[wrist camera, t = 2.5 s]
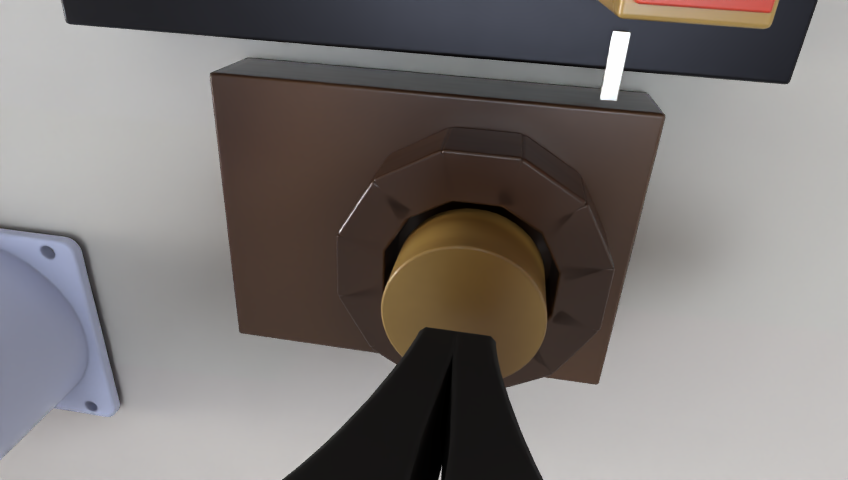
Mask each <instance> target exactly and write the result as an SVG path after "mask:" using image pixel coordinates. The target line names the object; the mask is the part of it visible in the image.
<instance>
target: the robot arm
mask: <svg viewBox="0 0 848 480" xmlns="http://www.w3.org/2000/svg"><path fill="white" fill-rule="evenodd" d="M50 247H51V248H52V249H53V250H54V252H55V253H54V252H53V251H52V250H51V249H50ZM53 408H57V409H63V410H69V411H75V412H81V413H87V414H93V415H99V416H105V417H111V416H113V415H114V414H115V413H116V412H117V411H118V410H119V408H120V402H119V398H118V394H117V390H116V386H115V382H114V378H113V374H112V370H111V366H110V362H109V358H108V354H107V350H106V346H105V342H104V338H103V334H102V330H101V326H100V322H99V318H98V314H97V310H96V306H95V302H94V298H93V294H92V290H91V286H90V282H89V278H88V274H87V270H86V266H85V262H84V258H83V254H82V251H81V248H80V246H79V245H78V244H77V243H76V242H75V241H74V240H72V239H71V238H68V237H63V236H56V235H48V234H40V233H32V232H25V231H17V230H9V229H2V228H0V460H1V459H2V458H3V457H4V456H5V455H6V454H7V453H8V452H9V451H10V450H11V449H12V448H13V447H14V446H15V445H16V444H17V443H18V442H19V441H20V440H21V439H22V438H23V437H24V436H25V435H26V434H27V433H28V432H29V431H30V430H31V429H32V428H33V427H34V426H35V425H36V424H37V423H38V422H39V421H41V420H42V419H43V418H44V417H45V416H46V415H47V414H48V413H49V412H50V411H51V410H52V409H53ZM441 467H442V475H441V480H543V479H542V476H541V474H540V472H539V470H538V468H537V466H536V464H535V462H534V460H533V457H532V455H531V453H530V451H529V449H528V446H527V444H526V442H525V439H524V437H523V435H522V432H521V430H520V427H519V425H518V422H517V419H516V417H515V414H514V411H513V408H512V406H511V403H510V400H509V397H508V394H507V391H506V388H505V385H504V381H503V377H502V374H501V370H500V366H499V361H498V356H497V349H496V341H495V340H494V339H493V338H492V337H491V336H488V335H480V334H473V333H466V332H459V331H452V330H444V329H437V328H430V327H425V328H423V329H422V330H420V331H419V332H418V334H417V336H416V338H415V339H414V341H413V342H412V344H411V346H410V347H409V349H408V350H407V351H406V353H405V354H404V356H403V357H402V358H401V360H400V361H399V362H398V364H397V365H396V366H395V368H394V369H393V370H392V372H391V373H390V374H389V375H388V376H387V378H386V379H385V380H384V381H383V382H382V384H381V385H380V386H379V387H378V388H377V390H376V391H375V392H374V393H373V394H372V395H371V397H370V398H369V399H368V400H367V401H366V402H365V403H364V404H363V405H362V406H361V407H360V408H359V410H358V411H357V412H356V413H355V414H354V415H353V416H352V417H351V418H350V419H349V420H348V421H347V422H346V423H345V424H344V425H343V426H342V427H341V428H340V429H339V430H338V431H337V432H336V433H335V434H334V435H333V436H332V437H331V438H330V439H329V440H328V441H327V442H326V443H325V444H324V445H323V446H321V447H320V448H319V449H318V450H317V451H316V452H315V453H314V454H313V455H311V456H310V457H309V458H308V459H307V460H306V461H305V462H303V463H302V464H301V465H300V466H299V467H298V468H296V469H295V470H294V471H293V472H291V473H290V474H289V475H288V476H286V477H285V478H284V479H282V480H438V479H439V475H440V471H441Z"/></svg>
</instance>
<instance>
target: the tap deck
mask: <svg viewBox="0 0 848 480" xmlns="http://www.w3.org/2000/svg"><path fill="white" fill-rule="evenodd" d="M817 1H818V0H779V3H778V6H777V9H776V12H775V16H774V19H773V22H772V24H771V26H770V27H769V28H766V29H754V28H741V27H728V26H714V25H701V24H687V23H674V22H660V21H647V20H633V19H622V18H620V17H618V16H617V15H615V14H614V13H613V12H612V11H611V10H609V9H608V8H607V7H606V6H604V5H603V4H602V3H601V2H599V1H598V0H61V2H62V6H63V11H64V16H65V20H66V22H67V23H68V24H74V25H86V26H97V27H109V28H121V29H133V30H145V31H157V32H169V33H181V34H193V35H205V36H216V37H228V38H240V39H252V40H264V41H276V42H288V43H300V44H312V45H324V46H335V47H347V48H359V49H371V50H383V51H395V52H407V53H419V54H431V55H442V56H454V57H466V58H478V59H490V60H502V61H514V62H526V63H538V64H550V65H561V66H573V67H585V68H597V69H604V74H603V79H602V85H601V90H600V95H599V99H600V100H605V101H617V98H618V93H619V89H620V84H621V79H622V74H623V71H633V72H645V73H657V74H669V75H680V76H692V77H704V78H716V79H728V80H740V81H752V82H764V83H776V84H788V83H789V82H790V80H791V77H792V74H793V71H794V68H795V65H796V62H797V59H798V57H799V54H800V51H801V48H802V45H803V42H804V39H805V36H806V33H807V30H808V27H809V24H810V21H811V18H812V16H813V13H814V10H815V7H816V4H817Z"/></svg>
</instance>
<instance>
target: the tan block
mask: <svg viewBox="0 0 848 480" xmlns="http://www.w3.org/2000/svg"><path fill="white" fill-rule="evenodd" d="M598 1H599V2H601V3H602V4H603V5H604V6H606V7H607V8H608V9H609V10H611V11H612V12H613V13H614V14H615V15H617V16H618V17H620V18H622V19H633V20H647V21H660V22H674V23H687V24H701V25H714V26H728V27H741V28H754V29H766V28H769V27H770V26H771V24H772V22H773V19H774V16H775V12H776V9H777V6H778V3H779V0H598Z"/></svg>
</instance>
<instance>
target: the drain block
mask: <svg viewBox="0 0 848 480" xmlns="http://www.w3.org/2000/svg"><path fill="white" fill-rule="evenodd" d="M210 82H211V90H212V99H213V108H214V116H215V125H216V134H217V142H218V151H219V160H220V168H221V177H222V186H223V194H224V203H225V212H226V220H227V229H228V238H229V246H230V255H231V264H232V272H233V281H234V290H235V298H236V307H237V316H238V324H239V332H240V333H243V334H250V335H257V336H264V337H271V338H278V339H285V340H292V341H298V342H305V343H312V344H319V345H326V346H333V347H340V348H347V349H354V350H361V351H368V352H374V353H379V354H381V355H382V356H384V357H386V358H387V359H389V360H391V361H392V362H394V363H395V364H398V362H399V361H400V360H401V358H402V356H401V355H400V354H399V353H398V352H397V351H396V349H395V348H394V347H393V345H392V344H391V342H390V340H389V338H388V336H387V334H386V332H385V329H384V326H383V322H382V317H381V302H382V296H383V292H384V289H385V287H386V284H387V282H388V279H389V277H390V274H391V272H392V270H393V267H394V265H395V262H396V260H397V257H398V255H399V253H400V250H401V248H402V246H403V243H404V242H405V240H406V238H407V237H408V235H409V234H410V233H411V232H412V231H413V230H414V229H415V228H416V227H417V226H418V225H419V224H420V223H422V222H423V221H425V220H426V219H428V218H430V217H432V216H434V215H436V214H439V213H442V212H445V211H449V210H454V209H464V208H470V209H480V210H486V211H490V212H493V213H496V214H499V215H501V216H503V217H506V218H507V219H509V220H511V221H512V222H514V223H516V224H517V225H518V226H519V227H521V228H522V229H523V230H524V231H525V232H526V233H527V234H528V235H529V236H530V237H531V239H532V240H533V241H534V243H535V244H536V246H537V248H538V250H539V252H540V254H541V257H542V259H543V264H544V269H545V286H546V305H547V329H546V333H545V337H544V340H543V342H542V344H541V346H540V348H539V350H538V351H537V353H536V354H535V356H534V357H533V358H532V359H531V360H530V361H529V362H528V363H527V364H526V365H525V366H524V367H523V368H521V369H520V370H518V371H517V372H515V373H514V374H512V375H510V376H508V377H505V378H503V381H504V385H505V388H506V387H510V386H513V385H517V384H521V383H524V382H528V381H532V380H535V379H539V378H543V377H547V378H554V379H561V380H568V381H575V382H582V383H588V384H595V385H596V384H598V383H599V380H600V376H601V372H602V368H603V364H604V360H605V356H606V352H607V348H608V344H609V340H610V336H611V332H612V328H613V324H614V320H615V317H616V313H617V309H618V305H619V301H620V297H621V293H622V289H623V285H624V281H625V277H626V273H627V269H628V265H629V261H630V257H631V253H632V249H633V245H634V241H635V237H636V233H637V229H638V225H639V221H640V217H641V213H642V209H643V205H644V201H645V197H646V193H647V189H648V185H649V181H650V177H651V173H652V169H653V165H654V161H655V157H656V153H657V149H658V145H659V141H660V137H661V133H662V129H663V125H664V121H665V114H664V113H663V112H662V110H661V109H660V108H659V107H658V105H657V104H656V103H655V102H654V100H653V99H652V98H651V97H650V95H649V94H647V93H641V92H630V91H619V93H618V98H617V101H605V100H600V99H599V95H600V90H601V89H596V88H584V87H573V86H562V85H550V84H539V83H528V82H516V81H505V80H493V79H482V78H471V77H459V76H448V75H437V74H425V73H414V72H402V71H391V70H380V69H368V68H357V67H346V66H334V65H323V64H311V63H300V62H289V61H277V60H266V59H255V58H246V59H243V60H241V61H238V62H236V63H234V64H231V65H229V66H226V67H224V68H221V69H219V70H217V71H214V72H212V73H210Z"/></svg>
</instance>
